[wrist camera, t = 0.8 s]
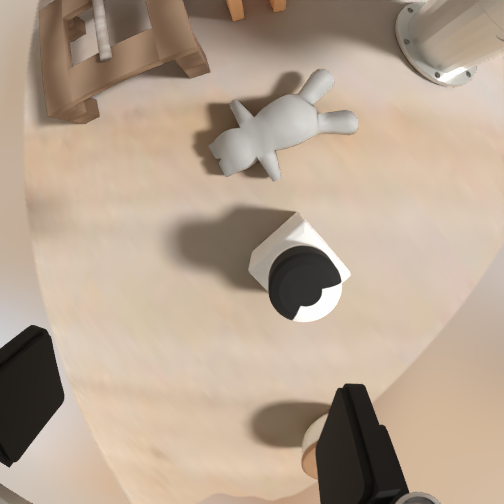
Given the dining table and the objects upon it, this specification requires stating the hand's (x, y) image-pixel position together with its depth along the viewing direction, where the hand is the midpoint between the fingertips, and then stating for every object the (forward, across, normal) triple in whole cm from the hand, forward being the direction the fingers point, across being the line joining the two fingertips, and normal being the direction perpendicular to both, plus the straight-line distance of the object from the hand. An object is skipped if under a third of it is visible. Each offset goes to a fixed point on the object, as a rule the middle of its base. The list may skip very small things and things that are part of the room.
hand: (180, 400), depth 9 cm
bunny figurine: (+29, -2, -12) cm, 31 cm away
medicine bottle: (+28, -6, +2) cm, 29 cm away
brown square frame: (+28, +17, -22) cm, 40 cm away
